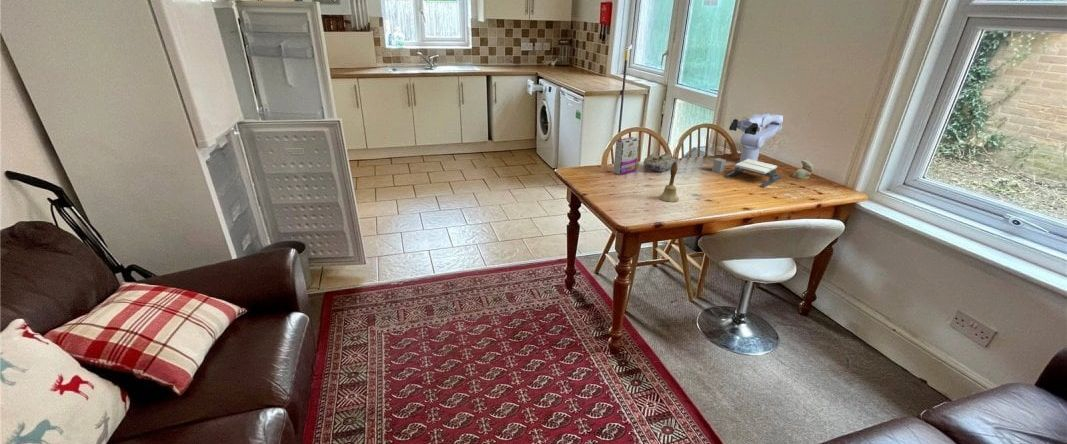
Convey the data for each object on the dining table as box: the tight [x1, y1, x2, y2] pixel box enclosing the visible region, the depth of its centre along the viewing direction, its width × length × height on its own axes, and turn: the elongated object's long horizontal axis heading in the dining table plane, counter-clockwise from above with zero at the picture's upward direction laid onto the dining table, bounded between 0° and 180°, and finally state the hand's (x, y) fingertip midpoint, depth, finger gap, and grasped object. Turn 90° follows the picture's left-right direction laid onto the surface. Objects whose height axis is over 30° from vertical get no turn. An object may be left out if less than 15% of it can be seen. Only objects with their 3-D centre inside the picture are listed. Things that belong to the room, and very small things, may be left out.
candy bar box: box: [612, 136, 640, 176], centre depth 220 cm, size 11×5×16 cm, turn 126°
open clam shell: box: [791, 157, 815, 180], centre depth 221 cm, size 6×8×10 cm
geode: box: [643, 153, 678, 173], centre depth 227 cm, size 17×9×15 cm
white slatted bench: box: [725, 159, 782, 189], centre depth 219 cm, size 20×18×6 cm
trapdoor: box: [734, 159, 778, 175], centre depth 217 cm, size 14×14×1 cm
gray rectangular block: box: [711, 157, 727, 174], centre depth 227 cm, size 4×4×6 cm
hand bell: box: [658, 161, 680, 203], centre depth 190 cm, size 8×8×16 cm
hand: (737, 129), depth 219 cm, fingers open, 7 cm apart
